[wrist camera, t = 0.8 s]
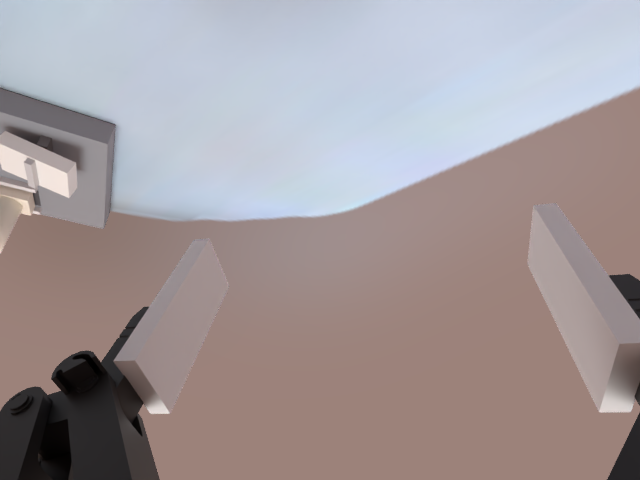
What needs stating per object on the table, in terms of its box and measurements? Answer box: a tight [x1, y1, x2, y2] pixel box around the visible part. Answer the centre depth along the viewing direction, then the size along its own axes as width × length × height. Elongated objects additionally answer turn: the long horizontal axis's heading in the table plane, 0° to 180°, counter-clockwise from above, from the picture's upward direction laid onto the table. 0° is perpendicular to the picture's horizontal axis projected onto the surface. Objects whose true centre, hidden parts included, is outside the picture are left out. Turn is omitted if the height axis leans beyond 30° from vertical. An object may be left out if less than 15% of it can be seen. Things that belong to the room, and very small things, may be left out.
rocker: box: [0, 131, 77, 198], centre depth 37 cm, size 6×4×2 cm, turn 65°
